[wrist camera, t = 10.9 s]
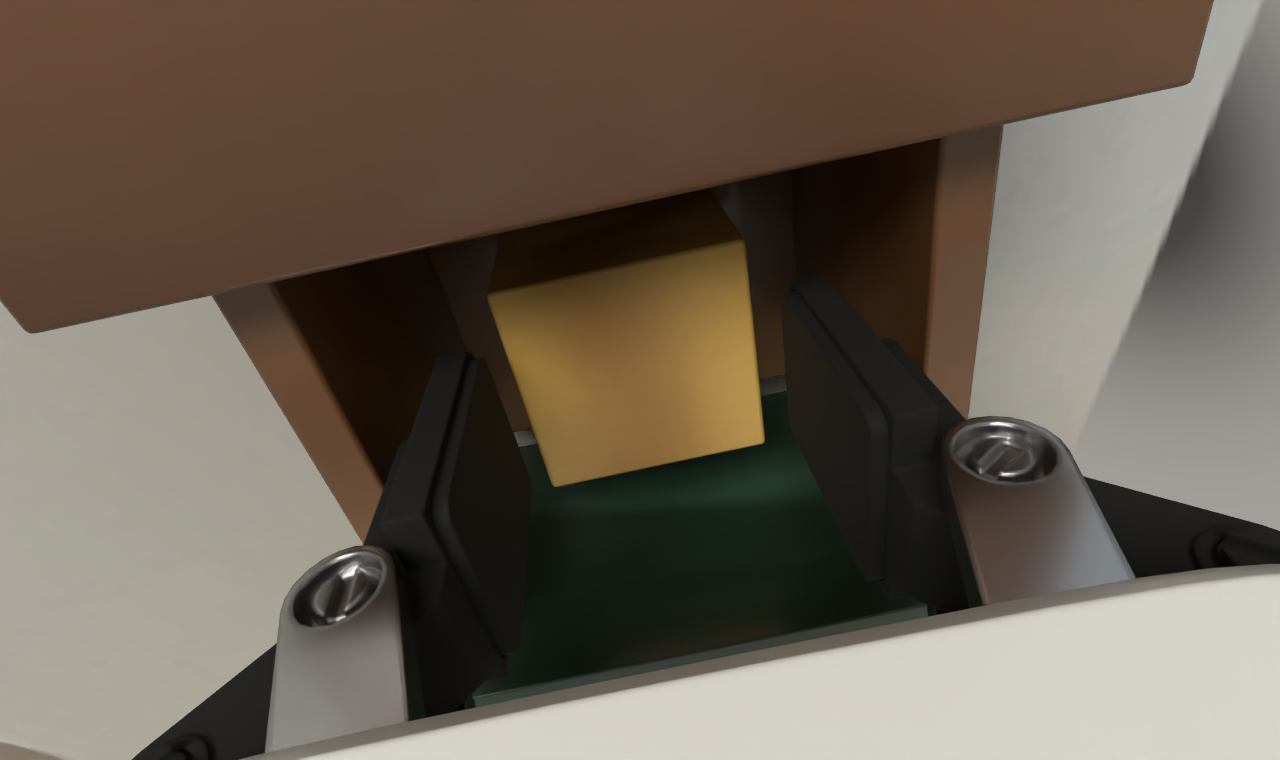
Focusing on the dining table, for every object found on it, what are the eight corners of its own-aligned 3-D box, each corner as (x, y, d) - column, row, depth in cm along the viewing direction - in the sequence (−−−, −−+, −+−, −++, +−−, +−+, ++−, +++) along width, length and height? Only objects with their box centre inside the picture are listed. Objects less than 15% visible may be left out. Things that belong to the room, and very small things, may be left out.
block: (698, 170, 14) (746, 239, 10) (721, 339, 17) (766, 445, 13) (504, 211, 14) (484, 295, 11) (554, 374, 17) (552, 489, 13)
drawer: (843, 509, 22) (963, 738, 15) (518, 577, 22) (499, 832, 16) (834, -149, 12) (1146, -291, 6) (258, -21, 12) (-81, -13, 6)
